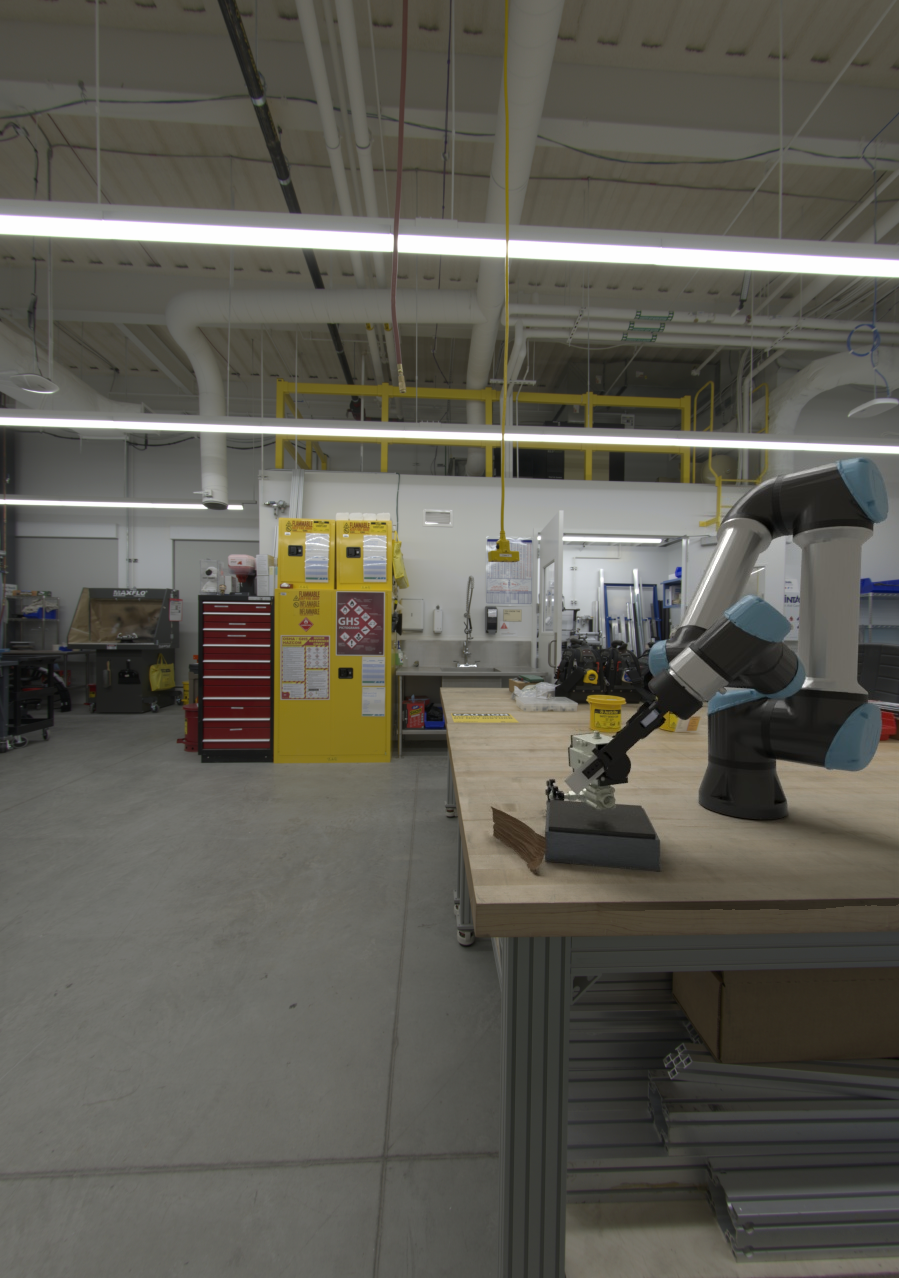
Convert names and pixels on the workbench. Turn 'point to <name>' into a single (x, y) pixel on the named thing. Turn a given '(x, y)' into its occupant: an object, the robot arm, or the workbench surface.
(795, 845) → the workbench surface
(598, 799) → the pneumatic valve
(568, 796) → the valve
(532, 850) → the wood plank
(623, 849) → the stand
